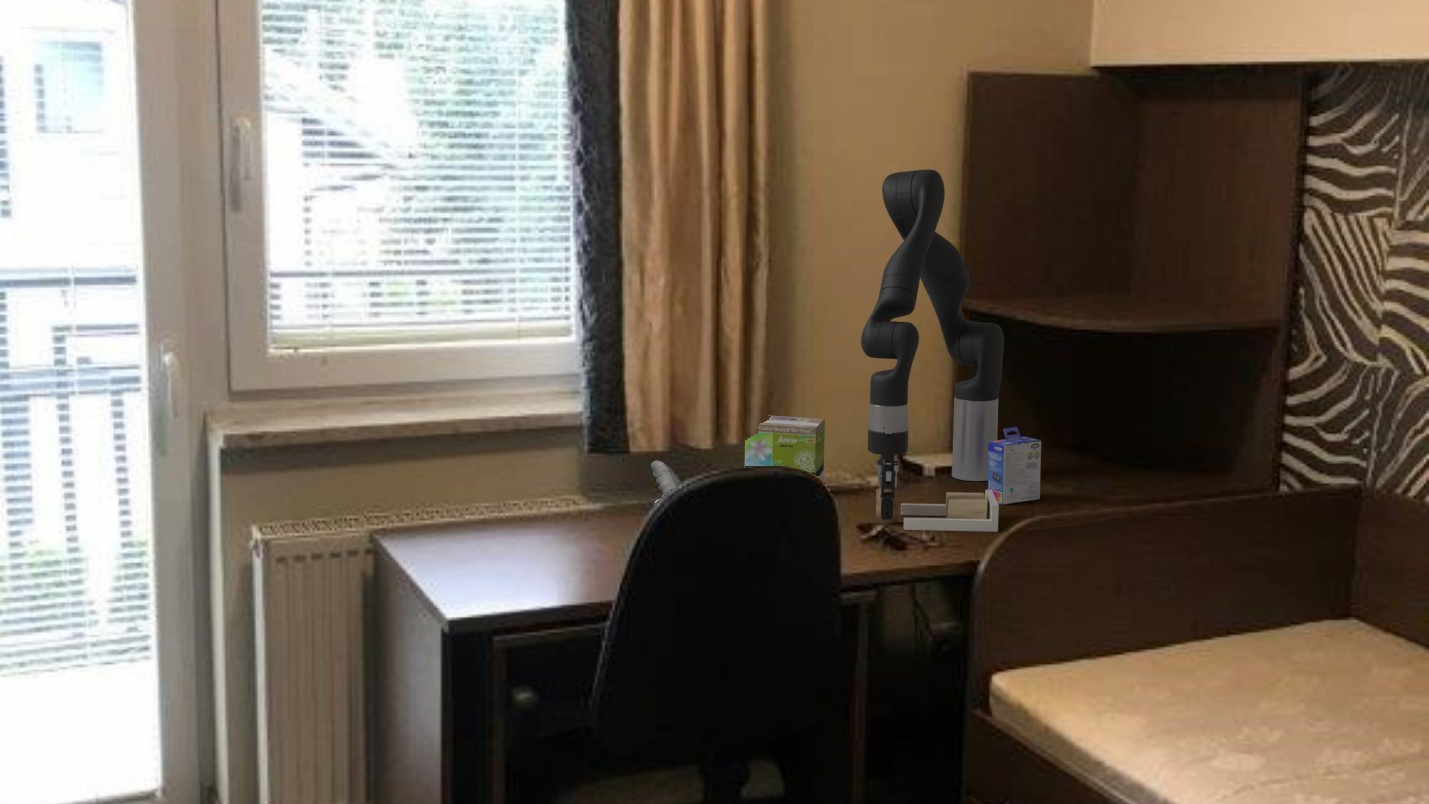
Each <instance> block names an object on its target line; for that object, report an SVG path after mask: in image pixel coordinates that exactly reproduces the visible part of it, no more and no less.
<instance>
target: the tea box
mask: <svg viewBox="0 0 1429 804" xmlns="http://www.w3.org/2000/svg"><path fill="white" fill-rule="evenodd" d="M770 416H771V417H770V418H769V420H767V421H765V422H763V423H760V424H759V425H758V429H759V431H758V434H754V436H751V437H750V438H748V439H747V440H745V439H744V467H745V466H788V467H792V468H797V469H802V470H805V471H807V472H811V473H812V474H814V475H816V476H818V477H819V478H821V480H823V481H824V471H825V470H824V469H825V434H826V433H825V432H826V431H825V429H826V427H825V426H826V419H825V418H813V417H798V416H783V415H770Z"/></svg>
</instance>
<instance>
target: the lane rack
mask: <svg viewBox="0 0 1429 804" xmlns="http://www.w3.org/2000/svg"><path fill="white" fill-rule="evenodd" d="M984 491H985V492H984V496H985V498H986V500H987V519H945V518H946V503H944V504H943V503H906V502H905V503H900V515H901V516H924V517H931V516H932V517H933V516H934V517H935V516H936V517H941V518H904V522H903V530H905V531H906V530H907V531H944V532H945V531H946V532H947V531H950V532H952V531H953V532H988V533H989V532H993V533H994V532H998V531H999V505H1000V504H999V503H997V501H996V498H995V496H994V494H993V492H992V490H988V489H985V490H984Z"/></svg>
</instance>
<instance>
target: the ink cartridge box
mask: <svg viewBox="0 0 1429 804" xmlns="http://www.w3.org/2000/svg"><path fill="white" fill-rule="evenodd" d="M1002 430H1003V433H1004V438H1005V439H999V440H998V439H997V441H990V442H988V481H987V490H992V492H993V494H994V496H995V498H996V501H997V503H998V505H1011V504H1015V503H1023V502H1029V501H1035V500H1040V498H1041V465H1042V464H1041V461H1042V460H1041V459H1042V457H1041V456H1042V455H1041V454H1042V440H1041V439H1037V438H1034V437H1031V436H1030V437H1028V436H1021V433H1020V431H1019V428H1018V427H1017V426H1014V427H1005V428H1003V429H1002ZM1009 432H1015V433H1016V434H1008V433H1009Z"/></svg>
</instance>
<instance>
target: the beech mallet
mask: <svg viewBox="0 0 1429 804" xmlns="http://www.w3.org/2000/svg"><path fill="white" fill-rule="evenodd" d="M875 491H876V492H875V522H876V523H879V524H886V525H890V524H891V525H892V524H896V523H904V518H942V516H936V517H935V516H934V517H933V516H932V517H931V516H898V496H899V495H898V492H899V491H898V489H897V488H895V498H894V500H893V518H892V519H891V520H883V519H882V518H881V498H880V494H881V488H880V487H879V488H876V489H875ZM884 492H888V493H891V489H884ZM945 495H946V496H945V504H946V516H945V517H944V518H945V519H987V500H986V498H985V492H949V491H948V492H946V494H945Z"/></svg>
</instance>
